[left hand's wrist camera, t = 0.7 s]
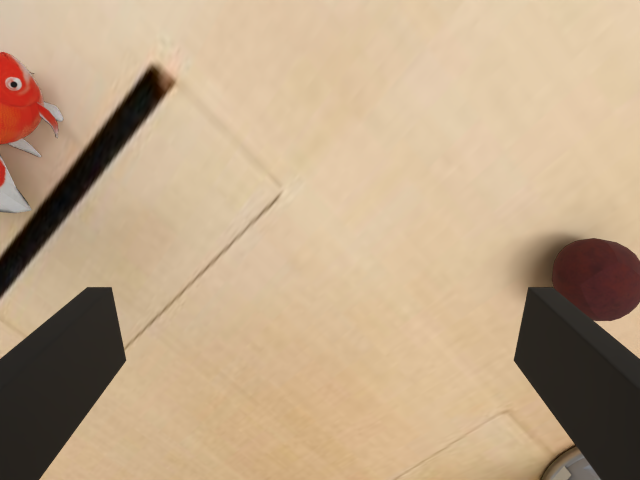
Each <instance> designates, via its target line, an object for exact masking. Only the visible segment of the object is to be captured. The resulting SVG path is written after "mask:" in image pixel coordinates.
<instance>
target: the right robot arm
mask: <svg viewBox="0 0 640 480" xmlns="http://www.w3.org/2000/svg"><path fill="white" fill-rule="evenodd" d="M541 480H601V479H600V478H599V476H598V475H597V474H596V472H595V471H594V470H593V468H592V467H591V465H590V464H589V463H588V461H587V460H586V459H585V457H584V456H583V454H582V453H581V452H580V450H579V449H578V448H577V446H576V447H574V448H572V449H570V450H568V451H567V452H565V453H563V454H562V455H561V456H559V457H558V458H557V459H556V460H555V461H554V462H553V463H552V464H551V465H550V466H549V467H548V468H547V470H546V471H545V473H544V475H543V477H542V479H541Z"/></svg>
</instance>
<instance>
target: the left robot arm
mask: <svg viewBox="0 0 640 480" xmlns="http://www.w3.org/2000/svg"><path fill="white" fill-rule="evenodd" d="M125 361H126V357H125V352H124V347H123V342H122V337H121V332H120V327H119V322H118V317H117V312H116V307H115V302H114V297H113V292H112V287H87V288H86V289H85V290H83V291H82V292H81V293H80V294H79V295H77V296H76V297H75V298H74V299H72V300H71V301H70V302H69V303H68V304H66V305H65V306H64V307H63V308H62V309H60V310H59V311H58V312H57V313H56V314H54V315H53V316H52V317H51V318H49V319H48V320H47V321H46V322H45V323H43V324H42V325H41V326H40V327H39V328H37V329H36V330H35V331H34V332H32V333H31V334H30V335H29V336H28V337H26V338H25V339H24V340H23V341H22V342H20V343H19V344H18V345H17V346H15V347H14V348H13V349H12V350H11V351H9V352H8V353H7V354H6V355H5V356H3V357H2V358H1V359H0V480H39V479H40V478H41V476H42V475H43V474H44V472H45V471H46V470H47V468H48V467H49V465H50V464H51V463H52V461H53V460H54V459H55V457H56V456H57V454H58V453H59V452H60V450H61V449H62V448H63V446H64V445H65V444H66V442H67V441H68V439H69V438H70V437H71V435H72V434H73V433H74V431H75V430H76V428H77V427H78V426H79V424H80V423H81V422H82V420H83V419H84V418H85V416H86V415H87V413H88V412H89V411H90V409H91V408H92V407H93V405H94V404H95V403H96V401H97V400H98V398H99V397H100V396H101V394H102V393H103V392H104V390H105V389H106V387H107V386H108V385H109V383H110V382H111V381H112V379H113V378H114V377H115V375H116V374H117V372H118V371H119V370H120V368H121V367H122V366H123V364H124V363H125ZM514 361H515V363H516V364H517V366H518V367H519V368H520V370H521V371H522V372H523V374H524V375H525V377H526V378H527V379H528V381H529V382H530V383H531V385H532V386H533V387H534V389H535V390H536V392H537V393H538V394H539V396H540V397H541V398H542V400H543V401H544V403H545V404H546V405H547V407H548V408H549V409H550V411H551V412H552V413H553V415H554V416H555V418H556V419H557V420H558V422H559V423H560V424H561V426H562V427H563V428H564V430H565V431H566V433H567V434H568V435H569V437H570V438H571V439H572V441H573V442H574V444H575V445H576V446H577V448H578V449H579V450H580V452H581V453H582V454H583V456H584V457H585V459H586V460H587V461H588V463H589V464H590V465H591V467H592V468H593V470H594V471H595V472H596V474H597V475H598V476H599V478H600V479H601V480H640V359H639V358H638V357H637V356H635V355H634V354H633V353H632V352H631V351H629V350H628V349H627V348H626V347H625V346H623V345H622V344H621V343H620V342H618V341H617V340H616V339H615V338H614V337H612V336H611V335H610V334H609V333H608V332H606V331H605V330H604V329H603V328H601V327H600V326H599V325H598V324H597V323H595V322H594V321H593V320H592V319H591V318H589V317H588V316H587V315H586V314H584V313H583V312H582V311H581V310H580V309H578V308H577V307H576V306H575V305H574V304H572V303H571V302H570V301H569V300H568V299H566V298H565V297H564V296H563V295H561V294H560V293H559V292H558V291H557V290H555V289H554V288H553V287H528V292H527V297H526V302H525V307H524V312H523V317H522V322H521V327H520V332H519V337H518V342H517V347H516V352H515V357H514Z"/></svg>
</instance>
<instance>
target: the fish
mask: <svg viewBox="0 0 640 480" xmlns="http://www.w3.org/2000/svg"><path fill="white" fill-rule="evenodd" d="M31 74H34V73H31V72H29V71H28V69H27V68H26V67H25V66H24V65H23V64H22V63H21V62H20V61H19V60H17V59H16V58H15V57H13V56H12V55H10V54H8V53H5V52H1V53H0V144H6V143H8V144H9V145H11V146H13V147H15V148H18V149H21V150H24V151H26V152H29V153H31V154H33V155H35V156H38V157H42V156H41V155H40V154H39V153H38V152H37V151H36V150H35V149H34V147H32V146H31V145H30V144H29V143H28V142H27V141H25V140H24V139H23V138H24V137H26V136H27V135H29V134H30V133H31V132H32V131H34V129H35V128H36V127H37V126H38V124H39V123H40V121H41V118H43V119H44V120H45V121H46V122H47V123H48V124H50V125H51V127H52V128H53V130H54V133H55V137H56V138H58V123H57V121H56V120H58V121H63V116H62V114H61V113H60V111H59V109H58V108H57V107H56V106H55V105H53V104H48V103H46V102H44V100H43V96H42V93H41V90H40V88H39V86H38V84H37V82H36V81H35V79H34V78H33V76H32V75H31ZM30 210H32V209H31V208H30V206H29V204H28V202H27V201H26V200H25V198H24V197H23V196H22V194H21V193H20V192H19V191H18V189H17V188H16V186H15V184H14V182H13V180H12V178H11V175H10V173H9V171H8V169H7V167H6V165H5V163H4V161H3V159H2V157H1V155H0V212H8V213H19V212H24V211H30Z"/></svg>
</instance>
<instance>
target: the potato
mask: <svg viewBox="0 0 640 480" xmlns="http://www.w3.org/2000/svg"><path fill="white" fill-rule="evenodd" d="M552 282H553V285H554V288H555V290H557V291H558V292H559V293H560V294H561V295H563V296H564V297H565V298H566V299H568V300H569V301H570V302H571V303H572V304H574V305H575V306H576V307H577V308H578V309H580V310H581V311H582V312H583V313H584V314H586V315H587V316H588V317H589V318H591V319H592V320H594V321H612V320H616V319H619V318H621V317H623V316H625V315H627V314H629V313H630V312H631V311H632V310H633V309H634V308H636V307H637V305H638V304H639V302H640V261H639V259H638V258H637V256H636V255H635V254H634V253H633V252H632V251H630V250H629V249H628V248H626V247H624V246H622V245H620V244H618V243H616V242H611V241H606V240H601V239H595V238H592V239H585V240H579V241H575V242H573V243H571V244H569V245H567V246H565V247H564V248H563V249H562V250H561V252H560V253H559V254H558V256H557V258H556V260H555V262H554V266H553V275H552Z"/></svg>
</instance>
